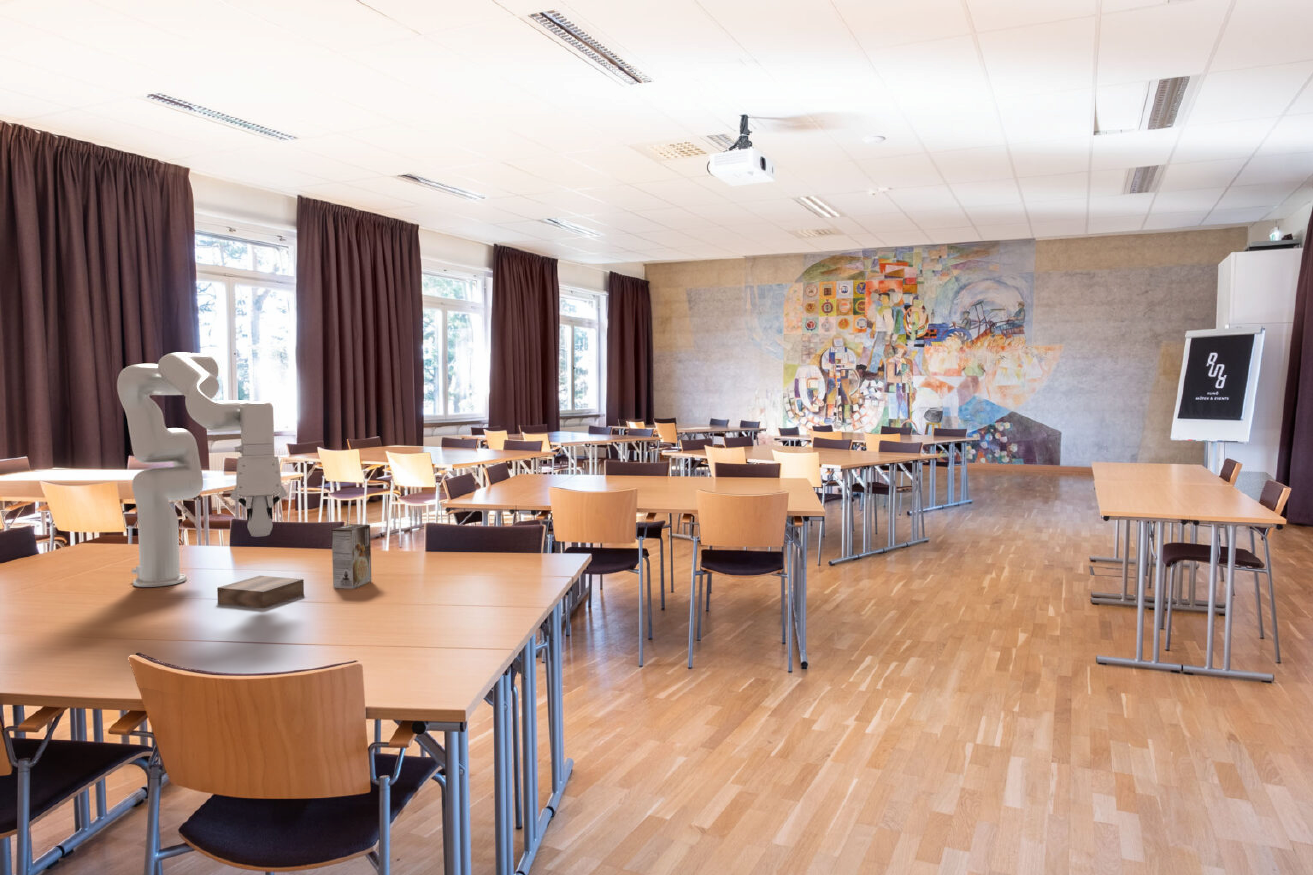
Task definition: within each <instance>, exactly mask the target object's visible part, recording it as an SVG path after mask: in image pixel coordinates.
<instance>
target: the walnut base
mask: <svg viewBox="0 0 1313 875" xmlns="http://www.w3.org/2000/svg"><path fill="white" fill-rule="evenodd" d="M304 585H305V583H304V579H303V578H291V577H280V576H268V575H257V576H254V577H250V578H246V579H243V580H239V581H236V582H232V583H229V584H225V585H221V586H219V587H217V590H216V591H217V604H218V603H221V604H220V605H227V606H228V605H230V606H238V607H239V606H241V607H249V608H250V607H251V608H258V609H259V608H261V609H265V608H267V607H271V606H273V605H277V604H279V603H283V602H285V601H289V600H292V599H295V598H298V597H301V596H303V595H304V594H305V590H304V589H305V586H304Z"/></svg>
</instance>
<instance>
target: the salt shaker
mask: <svg viewBox="0 0 1313 875" xmlns="http://www.w3.org/2000/svg"><path fill="white" fill-rule="evenodd" d="M267 505H268V501H267V496H253V497H252V501H251V509H253V513H252V518H251V519H250V516H249V521H247V527H246V528H247V530H248V531H249V534H250V536H251V537H256V538H258V537H266V536H270V534H271V532H272V530H273V527H274V526H273V525H274V524H273V518H272V519H271V518H270V514H269V516H268V513H267V508H268V506H267ZM269 518H270V520H269Z"/></svg>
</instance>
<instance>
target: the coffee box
mask: <svg viewBox="0 0 1313 875" xmlns="http://www.w3.org/2000/svg"><path fill="white" fill-rule="evenodd" d="M371 544H372V543H371V524H363V523H361V524H355V523H350V524H346V525H343V526H339V527H336V528H335V527H334V528H332V529H331V552H332V553H331V554H332V555H331V556H332V558H331V559H332V560H331V561H332V587H333V588H334V589H349V590H355V589H357V588H359V587H361V586H363V585H366V584H369V583H370V582H372V580H373V578H372V553H371V552H372V550H371Z"/></svg>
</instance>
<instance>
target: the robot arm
mask: <svg viewBox="0 0 1313 875" xmlns="http://www.w3.org/2000/svg"><path fill="white" fill-rule="evenodd" d="M218 376H219V366H218V363H217V361H216V360H215V359H214V358H213V357H212V356H211V355H209V354H205V353H199V352H197V353H196V352H192V353H191V352H171V353H167V354H165V355H163V356H162V357H160V359H159V360H158V362H157V363H139V364H138V363H137V364H130V365H129V366H126V367H125V368H123V369H122V370H121V371H120V373H119V374H118V378H117V383H116V388H117V394H118V398H119V401H120V404H121V405H122V408H123V409H124V412H125V416H126V419H127V426H128V433H129V437H130V445H131V449H132V453H133V456H134V458H135V460H136V461H137V462H138V463H141V464H144V465H146V464H147V465H148V464H167V463H172V464H173V466H166V467H165V466H164V467H152V468H147V469H143V470H141V471H139V472H138V473H137V474H136V475H135V476H134V477H133V479H132V483H131V488H132V493H133V498H134V502H135V506H136V513H137V533H138V535H137V536H138V537H137V538H138V562H139V563H138V564H139V565H137V566H136V567H135V568H132V569H131V574H134V575H135V574H136V576H137V578H135V579H134V580H133V581H132V583H133V586H135V587H138V588H157V587H159V588H160V587H166V586H167V587H168V586H172V585H176V584H180V583H183V582H185V581H186V580H187V574H184V573H181V567H180V566H181V565H180V537H179V536H180V534H179V533H180V532H179V517H178V514H177V512H176V511H175V509H174V508H173V507H172V505H171V504H170V502H176V501H183V500H191V499H194V498H196V497H199V495H200V494H201V492H202V491H203V487H204V478H203V472H202V464H201V460H200V454H199V448H198V444H197V439H196V438H195V436H194V435H193V434H192V432H191V431H189V430H188V429H187V428H186V429H185V428H180V427H179V428H178V427H171V428H167V426H166V424H165V418H164V413H163V410H162V409H161V408H160V406H159V405H158V404H157V403H156V401H154V400H153V399H152V398H151V397H150V396H184V397H185V401H184V402H185V408H186V411H187V413H188V415H189V416H190V418H191V419H192V420H193V421H195V422H196V423H197V424H198V425H200V426H201V427H203V428H204V429H206V430H209V431H211V432H212V431H213V432H223V431H225V432H227V431H240V445H239V446H234V452H235V453H240V455H241V456H238V457H237V462H236V474H235V475H236V478H235V481H236V482H235V483H236V484H235V487H234V488H233V490H232V492H231V493H230V496H229V498H230V499H231V500H233V501H235V502H238V503H239V504H241V505H242V506H244V508H246V521H247V522H248V521H249V516H250V519H251V518H252V513H253V509H251V502H252V497H253V496H266V497H267V501H268V505H267V506H268V508H267V513H268V516H269V514H270V518H271V519H272V520H273V507H274V506H275V505H276V504H277V503H278V502H279V501H280V500H282V499H284V498H286V497H287V496H288V492H287V490H286V489H285V487H284V486H283V484H282V476H281V475H282V473H281V466H280V459H279V456H278V455H276V454H275V428H274V426H275V424H274V422H275V421H274V407H273V406H274V405H272V403H271V402H267V401H250V400H213V398H214V397H215V396H216V395H217V393H218V391H219V386H220V384H219V381H218V379H217V378H218ZM270 518H269V520H270Z"/></svg>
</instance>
